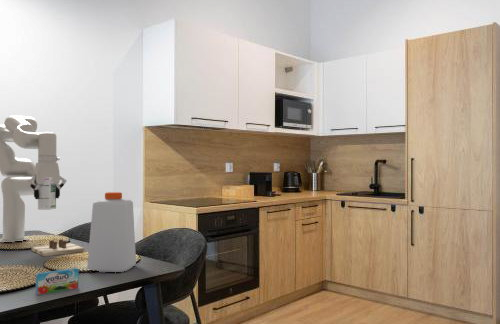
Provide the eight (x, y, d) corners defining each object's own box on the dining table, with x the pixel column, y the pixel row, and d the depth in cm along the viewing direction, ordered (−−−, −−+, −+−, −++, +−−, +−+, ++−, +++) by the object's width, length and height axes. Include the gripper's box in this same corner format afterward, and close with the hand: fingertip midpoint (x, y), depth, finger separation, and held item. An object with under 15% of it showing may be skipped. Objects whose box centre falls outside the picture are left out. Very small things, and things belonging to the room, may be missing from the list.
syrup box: (50, 209, 198) (50, 176, 199) (37, 209, 198) (37, 176, 199) (56, 208, 204) (56, 176, 204) (43, 208, 204) (43, 176, 205)
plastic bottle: (139, 264, 172) (140, 191, 172) (124, 274, 156) (125, 194, 157) (101, 263, 173) (102, 191, 173) (82, 272, 158) (84, 193, 158)
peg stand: (31, 250, 197) (31, 239, 197) (70, 246, 208) (70, 236, 208) (43, 256, 184) (43, 245, 184) (84, 251, 196) (84, 241, 196)
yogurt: (37, 295, 130) (37, 274, 130) (35, 294, 131) (35, 273, 131) (78, 288, 138) (78, 268, 138) (76, 287, 139) (76, 267, 139)
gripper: (64, 160, 210) (63, 197, 210) (24, 159, 199) (23, 199, 198) (69, 159, 205) (69, 198, 204) (29, 159, 193) (28, 199, 193)
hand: (47, 198), depth 201 cm, fingers closed on syrup box, 8 cm apart
